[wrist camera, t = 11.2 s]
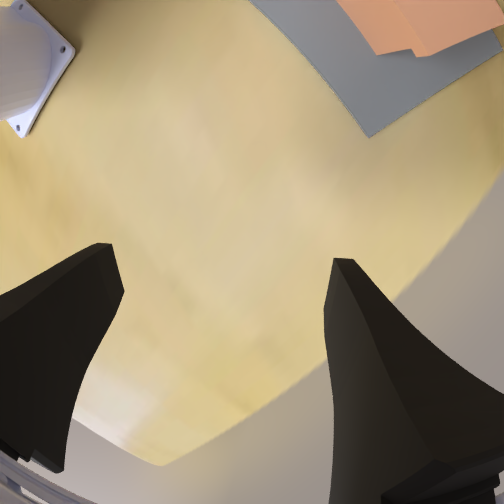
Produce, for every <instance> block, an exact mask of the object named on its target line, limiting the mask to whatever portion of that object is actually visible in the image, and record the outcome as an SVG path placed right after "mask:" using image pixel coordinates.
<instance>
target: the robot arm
mask: <svg viewBox="0 0 504 504" xmlns="http://www.w3.org/2000/svg"><path fill="white" fill-rule="evenodd" d="M64 47H65V48H66V49H65V52H63V49H64ZM74 55H75V49H74V47H73V46H72V45H71V44H70V43H69V42H68V41H67V40H66V39H65V38H64V37H63V36H62V35H61V34H60V33H59V32H58V31H57V30H56V29H55V28H54V27H53V26H52V25H51V24H50V23H49V22H48V21H47V20H46V19H45V18H44V17H43V16H41V15H40V14H39V13H38V12H37V11H36V10H35V9H34V8H33V7H32V6H31V5H30V4H29V3H28V2H27V1H26V0H14V1H13V3H12V4H11V6H10V7H5V6H0V121H3V120H7V121H8V123H9V124H10V125H11V127H12V128H13V129H14V130H15V132H16V133H17V134H18V135H19V137H21V138H24V137H26V136H27V135H28V133H29V131H30V129H31V127H32V125H33V123H34V121H35V119H36V117H37V115H38V114H39V112H40V110H41V108H42V106H43V105H44V103H45V101H46V99H47V98H48V96H49V94H50V93H51V91H52V89H53V88H54V86H55V84H56V83H57V81H58V80H59V78H60V76H61V75H62V73H63V72H64V70H65V69H66V67H67V66H68V64H69V63H70V61H71V60H72V59H73V57H74ZM123 294H124V288H123V284H122V281H121V277H120V274H119V270H118V266H117V263H116V259H115V255H114V251H113V247H112V244H108V243H96V244H93V245H91V246H89V247H87V248H85V249H83V250H81V251H79V252H77V253H75V254H73V255H72V256H70V257H68V258H66V259H65V260H63V261H61V262H60V263H58V264H56V265H54V266H53V267H51V268H49V269H48V270H46V271H44V272H42V273H41V274H39V275H37V276H35V277H34V278H32V279H30V280H28V281H27V282H25V283H23V284H21V285H20V286H18V287H16V288H14V289H12V290H10V291H8V292H6V293H4V294H2V295H0V504H42V503H40V502H38V501H36V500H34V499H32V498H30V497H28V496H27V495H25V494H23V493H22V492H21V488H20V486H22V487H23V488H25V489H26V490H28V491H29V492H31V493H33V494H34V495H36V496H38V497H39V498H41V499H42V500H44V501H46V502H48V503H49V504H96V503H94V502H92V501H89V500H87V499H85V498H82V497H80V496H78V495H76V494H74V493H72V492H70V491H68V490H66V489H64V488H62V487H60V486H57V485H56V484H54V483H52V482H50V481H48V480H47V479H45V478H43V477H41V476H39V475H38V474H36V473H34V472H33V471H31V470H29V469H28V468H26V467H25V466H23V465H21V464H20V463H18V462H17V460H18V458H19V457H20V458H21V459H23V460H24V461H26V462H29V461H30V460H32V461H34V462H35V463H37V464H39V465H41V466H42V467H44V468H46V469H48V470H50V471H52V472H54V473H60V472H62V471H64V462H65V452H66V442H67V437H68V431H69V427H70V422H71V417H72V413H73V409H74V406H75V402H76V399H77V395H78V392H79V389H80V386H81V383H82V381H83V378H84V375H85V373H86V370H87V368H88V366H89V364H90V362H91V360H92V358H93V356H94V354H95V352H96V350H97V348H98V347H99V345H100V343H101V341H102V339H103V337H104V335H105V334H106V332H107V330H108V328H109V326H110V324H111V322H112V321H113V319H114V317H115V315H116V312H117V310H118V307H119V305H120V302H121V300H122V297H123ZM324 336H325V343H326V350H327V357H328V363H329V371H330V378H331V386H332V393H333V403H334V445H333V446H334V447H333V466H332V478H331V490H330V498H329V504H504V492H503V493H502V494H499V495H497V496H495V494H494V488H496V487H498V486H499V484H500V479H499V473H500V472H502V471H503V470H504V394H502V393H501V392H499V391H497V390H495V389H494V388H492V387H491V386H489V385H488V384H486V383H485V382H483V381H481V380H480V379H478V378H477V377H475V376H474V375H473V374H471V373H469V372H468V371H467V370H465V369H464V368H463V367H461V366H460V365H459V364H457V363H456V362H455V361H453V360H452V359H451V358H450V357H448V356H447V355H446V354H445V353H443V352H442V351H441V350H440V349H439V348H437V347H436V346H435V345H434V344H433V343H432V342H431V341H430V340H428V339H427V338H426V337H425V336H424V335H423V334H421V332H420V331H419V330H417V329H416V328H415V327H414V326H413V325H412V324H411V323H410V322H409V321H408V320H407V319H406V318H405V317H404V315H402V313H401V312H400V311H398V309H397V308H396V307H395V306H394V305H393V304H392V303H391V302H390V301H389V300H388V298H387V297H386V296H385V295H384V294H383V293H382V292H381V291H380V289H379V288H378V287H377V286H376V285H375V284H374V282H373V281H372V280H371V279H370V278H369V277H368V275H367V274H366V273H365V272H364V271H363V270H362V268H361V267H360V266H359V265H358V264H357V263H356V262H355V260H354V259H345V258H334V259H333V265H332V270H331V275H330V280H329V285H328V290H327V295H326V300H325V305H324Z"/></svg>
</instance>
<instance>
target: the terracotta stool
mask: <svg viewBox="0 0 504 504" xmlns="http://www.w3.org/2000/svg"><path fill="white" fill-rule="evenodd" d="M336 1H337V2H338V3H339V5H340V6H341V7H342V8H343V10H344V11H345V12H346V13H347V15H348V16H349V17H350V19H351V20H352V21H353V23H354V24H355V25H356V27H357V28H358V29H359V31H360V32H361V34H362V35H363V36H364V38H365V39H366V41H367V42H368V43H369V45H370V46H371V48H372V49H373V51H374V52H375V54H376V55H381V54H386V53H390V52H395V51H400V50H405V49H412V51H413V52H414V54H415V56H416V57H424V56H430V55H433V54H435V53H437V52H439V51H441V50H443V49H446V48H448V47H450V46H452V45H454V44H457V43H459V42H461V41H464V40H466V39H468V38H471V37H473V36H475V35H478V34H480V33H483V32H485V31H488V30H490V29H493V28H495V27H498V26H501V25H503V24H504V14H503V12H502V10H501V8H500V7H499V5H498V3H497V1H496V0H336Z"/></svg>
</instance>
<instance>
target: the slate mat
mask: <svg viewBox="0 0 504 504" xmlns="http://www.w3.org/2000/svg"><path fill="white" fill-rule="evenodd" d="M249 1H250V2H251V3H252V4H253V5H254V6H255V7H256V8H257V9H258V10H259V11H261V12H262V13H263V14H264V15H265V16H266V17H267V18H268V19H269V20H270V21H271V22H272V23H273V24H274V25H275V26H276V27H277V28H278V29H279V30H280V31H281V32H282V33H283V34H284V35H285V36H286V37H287V38H288V39H289V40H290V41H291V43H292V44H293V45H294V46H295V47H296V48H297V49H298V50H299V51H300V52H301V53H302V55H303V56H304V57H305V58H306V59H307V60H308V61H309V62H310V64H311V65H312V66H313V67H314V68H315V69H316V71H317V72H318V73H319V74H320V75H321V77H322V78H323V79H324V80H325V81H326V83H327V84H328V85H329V86H330V88H331V89H332V90H333V91H334V93H335V94H336V95H337V97H338V98H339V99H340V100H341V102H342V103H343V104H344V106H345V107H346V108H347V110H348V111H349V112H350V114H351V115H352V116H353V118H354V119H355V121H356V122H357V123H358V125H359V126H360V128H361V129H362V130H363V132H364V133H365V135H366V136H367V137H368V138H370V137H371V136H373V135H374V134H376V133H377V132H379V131H380V130H382V129H383V128H385V127H386V126H387V125H389V124H390V123H392V122H393V121H395V120H396V119H398V118H399V117H401V116H402V115H404V114H405V113H407V112H408V111H410V110H411V109H413V108H414V107H416V106H417V105H419V104H420V103H422V102H423V101H425V100H426V99H428V98H429V97H431V96H432V95H434V94H435V93H437V92H438V91H440V90H441V89H443V88H444V87H446V86H447V85H449V84H451V83H452V82H454V81H455V80H457V79H458V78H460V77H461V76H463V75H464V74H466V73H468V72H469V71H471V70H472V69H474V68H475V67H477V66H479V65H480V64H482V63H483V62H485V61H486V60H488V59H490V58H491V57H493V56H494V55H496V54H498V53H499V52H501V51H502V50H503V49H502V47H501V45H500V43H499V41H498V39H497V37H496V36H495V34H494V32H493V30H492V29H490V30H488V31H485V32H483V33H480V34H478V35H475V36H473V37H471V38H468V39H466V40H464V41H461V42H459V43H457V44H454V45H452V46H450V47H448V48H446V49H443V50H441V51H439V52H437V53H435V54H433V55H430V56H424V57H416V56H415V54H414V52H413V51H412V49H405V50H400V51H395V52H390V53H386V54H381V55H376V54H375V52H374V51H373V49H372V48H371V46H370V45H369V43H368V42H367V41H366V39H365V38H364V36H363V35H362V34H361V32H360V31H359V29H358V28H357V27H356V25H355V24H354V23H353V21H352V20H351V19H350V17H349V16H348V15H347V13H346V12H345V11H344V10H343V8H342V7H341V6H340V5H339V3H338V2H337V1H336V0H249Z"/></svg>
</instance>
